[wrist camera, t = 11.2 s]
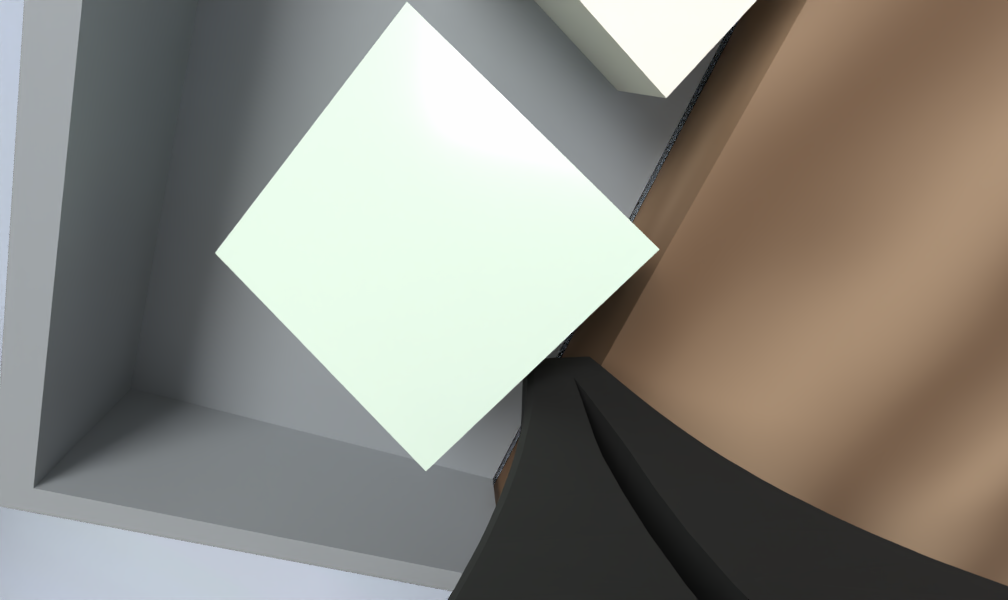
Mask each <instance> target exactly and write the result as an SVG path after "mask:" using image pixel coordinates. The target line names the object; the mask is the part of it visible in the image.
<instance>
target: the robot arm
mask: <svg viewBox="0 0 1008 600" xmlns="http://www.w3.org/2000/svg"><path fill="white" fill-rule="evenodd" d="M448 600H1008V586H1007V585H1004V584H1001V583H998V582H995V581H993V580H990V579H987V578H984V577H982V576H979V575H976V574H973V573H971V572H968V571H965V570H962V569H960V568H957V567H954V566H951V565H949V564H946V563H943V562H940V561H938V560H935V559H933V558H930V557H928V556H925V555H923V554H920V553H918V552H915V551H913V550H911V549H908V548H906V547H903V546H901V545H899V544H896V543H894V542H892V541H889V540H887V539H884V538H882V537H880V536H877V535H875V534H872V533H870V532H868V531H866V530H863V529H861V528H859V527H857V526H855V525H852V524H850V523H848V522H846V521H844V520H841V519H839V518H837V517H835V516H833V515H830V514H828V513H826V512H824V511H822V510H820V509H818V508H816V507H814V506H812V505H810V504H808V503H806V502H804V501H802V500H800V499H798V498H796V497H794V496H792V495H790V494H788V493H786V492H784V491H783V490H781V489H779V488H777V487H775V486H773V485H771V484H769V483H768V482H766V481H764V480H762V479H760V478H759V477H757V476H755V475H754V474H752V473H750V472H748V471H747V470H745V469H743V468H742V467H740V466H738V465H737V464H735V463H733V462H731V461H730V460H728V459H726V458H725V457H723V456H721V455H720V454H718V453H717V452H715V451H714V450H712V449H710V448H709V447H707V446H706V445H704V444H703V443H701V442H700V441H698V440H697V439H696V438H694V437H693V436H691V435H690V434H688V433H687V432H685V431H684V430H683V429H681V428H680V427H678V426H677V425H675V424H674V423H673V422H671V421H670V420H669V419H667V418H666V417H665V416H663V415H662V414H660V413H659V412H658V411H657V410H655V409H654V408H653V407H651V406H650V405H649V404H648V403H646V402H645V401H644V400H642V399H641V398H640V397H639V396H637V395H636V394H635V393H634V392H632V391H631V390H630V389H629V388H628V387H626V386H625V385H624V384H623V383H621V382H620V381H619V380H618V379H617V378H615V377H614V376H613V375H612V374H611V373H609V372H608V371H607V370H606V369H605V368H603V367H602V366H601V365H600V364H598V363H597V362H596V361H595V360H593V359H592V358H591V357H565V358H545V359H544V360H543V361H541V362H540V363H539V364H538V365H537V366H536V367H535V368H534V369H533V370H532V371H531V372H530V373H529V374H528V375H527V376H526V377H525V378H524V379H523V384H522V414H521V433H520V436H519V440H518V444H517V448H516V452H515V455H514V459H513V462H512V465H511V468H510V471H509V474H508V477H507V479H506V482H505V485H504V487H503V490H502V493H501V495H500V498H499V500H498V502H497V505H496V507H495V509H494V512H493V514H492V516H491V518H490V521H489V523H488V525H487V527H486V530H485V532H484V534H483V536H482V538H481V540H480V542H479V544H478V546H477V548H476V550H475V551H474V553H473V555H472V557H471V559H470V561H469V562H468V564H467V566H466V568H465V570H464V572H463V573H462V575H461V577H460V579H459V581H458V583H457V584H456V586H455V588H454V590H453V592H452V593H451V595H450V597H449V598H448Z"/></svg>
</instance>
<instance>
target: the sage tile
mask: <svg viewBox="0 0 1008 600" xmlns="http://www.w3.org/2000/svg"><path fill="white" fill-rule="evenodd" d="M658 250H659V248H658V247H657V246H656V245H655V244H654V243H653V242H652V241H650V240H649V239H648V238H647V237H646V236H645V235H644V234H643V233H642V232H641V231H640V230H639V229H638V228H637V227H636V226H635V225H634V224H633V223H632V222H631V221H630V220H629V219H628V218H627V217H626V216H625V215H624V214H623V213H622V212H621V211H620V210H619V209H618V208H617V207H616V206H615V205H614V204H613V203H612V202H611V201H610V200H609V199H608V198H607V197H606V196H605V195H604V194H603V193H602V192H601V191H599V190H598V189H597V188H596V187H595V186H594V185H593V184H592V183H591V182H590V181H589V180H588V179H587V178H586V177H585V176H584V175H583V174H582V173H581V172H580V171H579V170H578V169H577V168H576V167H575V166H574V165H573V164H572V163H571V162H570V161H569V160H568V159H567V158H566V157H565V156H564V155H563V154H562V153H561V152H560V151H559V150H558V149H557V148H556V147H555V146H554V145H553V144H552V143H551V142H550V141H548V140H547V139H546V138H545V137H544V136H543V135H542V134H541V133H540V132H539V131H538V130H537V129H536V128H535V127H534V126H533V125H532V124H531V123H530V122H529V121H528V120H527V119H526V118H525V117H524V116H523V115H522V114H521V113H520V112H519V111H518V110H517V109H516V108H515V107H514V106H513V105H512V104H511V103H510V102H509V101H508V100H507V99H506V98H505V97H504V96H503V95H502V94H501V93H500V92H499V91H498V90H496V89H495V88H494V87H493V86H492V85H491V84H490V83H489V82H488V81H487V80H486V79H485V78H484V77H483V76H482V75H481V74H480V73H479V72H478V71H477V70H476V69H475V68H474V67H473V66H472V65H471V64H470V63H469V62H468V61H467V60H466V59H465V58H464V57H463V56H462V55H461V54H460V53H459V52H458V51H457V50H456V49H455V48H454V47H453V46H452V45H451V44H450V43H449V42H448V41H447V40H445V39H444V38H443V37H442V36H441V35H440V34H439V33H438V32H437V31H436V30H435V29H434V28H433V27H432V26H431V25H430V24H429V23H428V22H427V21H426V20H425V19H424V18H423V17H422V16H421V15H420V14H419V13H418V12H417V11H416V10H415V9H414V8H413V7H412V6H411V5H410V4H409V3H408V2H406V4H405V5H404V6H403V7H402V9H401V10H400V11H399V13H398V14H397V15H396V17H395V18H394V19H393V21H392V22H391V23H390V24H389V26H388V27H387V28H386V30H385V31H384V32H383V34H382V35H381V36H380V38H379V39H378V40H377V41H376V43H375V44H374V45H373V47H372V48H371V49H370V51H369V52H368V53H367V55H366V56H365V57H364V59H363V60H362V61H361V62H360V64H359V65H358V66H357V68H356V69H355V70H354V72H353V73H352V74H351V76H350V77H349V78H348V79H347V81H346V82H345V83H344V85H343V86H342V87H341V89H340V90H339V91H338V93H337V94H336V95H335V96H334V98H333V99H332V100H331V102H330V103H329V104H328V106H327V107H326V108H325V110H324V111H323V112H322V113H321V115H320V116H319V117H318V119H317V120H316V121H315V123H314V124H313V125H312V127H311V128H310V129H309V131H308V132H307V133H306V134H305V136H304V137H303V138H302V140H301V141H300V142H299V144H298V145H297V146H296V148H295V149H294V150H293V151H292V153H291V154H290V155H289V157H288V158H287V159H286V161H285V162H284V163H283V165H282V166H281V167H280V168H279V170H278V171H277V172H276V174H275V175H274V176H273V178H272V179H271V180H270V182H269V183H268V184H267V185H266V187H265V188H264V189H263V191H262V192H261V193H260V195H259V196H258V197H257V199H256V200H255V201H254V203H253V204H252V205H251V206H250V208H249V209H248V210H247V212H246V213H245V214H244V216H243V217H242V218H241V220H240V221H239V222H238V223H237V225H236V226H235V227H234V229H233V230H232V231H231V233H230V234H229V235H228V237H227V238H226V239H225V240H224V242H223V243H222V244H221V246H220V247H219V248H218V250H217V251H216V252H215V253H216V254H217V256H218V257H219V258H220V259H221V260H222V261H223V262H224V263H225V264H226V265H227V266H228V267H229V268H230V269H231V270H232V271H233V272H234V273H235V274H236V275H237V276H238V277H239V278H240V279H241V280H242V281H243V282H244V283H245V285H246V286H247V287H248V288H249V289H250V290H251V291H252V292H253V293H254V294H255V295H256V296H257V297H258V298H259V299H260V300H261V301H262V302H263V303H264V304H265V305H266V306H267V307H268V308H269V309H270V310H271V311H272V312H273V314H274V315H275V316H276V317H277V318H278V319H279V320H280V321H281V322H282V323H283V324H284V325H285V326H286V327H287V328H288V329H289V330H290V331H291V332H292V333H293V334H294V335H295V336H296V337H297V338H298V339H299V340H300V341H301V343H302V344H303V345H304V346H305V347H306V348H307V349H308V350H309V351H310V352H311V353H312V354H313V355H314V356H315V357H316V358H317V359H318V360H319V361H320V362H321V363H322V364H323V365H324V366H325V367H326V368H327V369H328V370H329V372H330V373H331V374H332V375H333V376H334V377H335V378H336V379H337V380H338V381H339V382H340V383H341V384H342V385H343V386H344V387H345V388H346V389H347V390H348V391H349V392H350V393H351V394H352V395H353V396H354V397H355V398H356V399H357V401H358V402H359V403H360V404H361V405H362V406H363V407H364V408H365V409H366V410H367V411H368V412H369V413H370V414H371V415H372V416H373V417H374V418H375V419H376V420H377V421H378V422H379V423H380V424H381V425H382V426H383V427H384V428H385V429H386V431H387V432H388V433H389V434H390V435H391V436H392V437H393V438H394V439H395V440H396V441H397V442H398V443H399V444H400V445H401V446H402V447H403V448H404V449H405V450H406V451H407V452H408V453H409V454H410V455H411V456H412V457H413V458H414V460H415V461H416V462H417V463H418V464H419V465H420V466H421V467H422V468H423V469H424V470H425V471H427V470H428V469H429V468H430V467H431V466H432V465H433V464H434V463H435V462H436V461H437V460H438V459H439V458H440V457H441V456H443V455H444V454H445V453H446V452H447V451H448V450H449V449H450V448H451V447H452V446H453V445H454V444H455V443H456V442H457V441H458V440H459V439H460V438H461V437H463V436H464V435H465V434H466V433H467V432H468V431H469V430H470V429H471V428H472V427H473V426H474V425H475V424H476V423H477V422H478V421H479V420H480V419H481V418H483V417H484V416H485V415H486V414H487V413H488V412H489V411H490V410H491V409H492V408H493V407H494V406H495V405H496V404H497V403H498V402H499V401H500V400H501V399H503V398H504V397H505V396H506V395H507V394H508V393H509V392H510V391H511V390H512V389H513V388H514V387H515V386H516V385H517V384H518V383H519V382H520V381H521V380H523V379H524V378H525V377H526V376H527V375H528V374H529V373H530V372H531V371H532V370H533V369H534V368H535V367H536V366H537V365H538V364H539V363H540V362H541V361H543V360H544V359H545V358H546V357H547V356H548V355H549V354H550V353H551V352H552V351H553V350H554V349H555V348H556V347H557V346H558V345H559V344H560V343H561V342H563V341H564V340H565V339H566V338H567V337H568V336H569V335H570V334H571V333H572V332H573V331H574V330H575V329H576V328H577V327H578V326H579V325H580V324H581V323H583V322H584V321H585V320H586V319H587V318H588V317H589V316H590V315H591V314H592V313H593V312H594V311H595V310H596V309H597V308H598V307H599V306H600V305H601V304H603V303H604V302H605V301H606V300H607V299H608V298H609V297H610V296H611V295H612V294H613V293H614V292H615V291H616V290H617V289H618V288H619V287H620V286H621V285H623V284H624V283H625V282H626V281H627V280H628V279H629V278H630V277H631V276H632V275H633V274H634V273H635V272H636V271H637V270H638V269H639V268H640V267H641V266H643V265H644V264H645V263H646V262H647V261H648V260H649V259H650V258H651V257H652V256H653V255H654V254H655V253H656V252H657V251H658Z"/></svg>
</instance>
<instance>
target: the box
mask: <svg viewBox="0 0 1008 600" xmlns="http://www.w3.org/2000/svg"><path fill="white" fill-rule="evenodd" d="M406 2H408V3H409V4H410V5H411V6H412V7H413V8H414V9H415V10H416V11H417V12H418V13H419V14H420V15H421V16H422V17H423V18H424V19H425V20H426V21H427V22H428V23H429V24H430V25H431V26H432V27H433V28H434V29H435V30H436V31H437V32H438V33H439V34H440V35H441V36H442V37H443V38H444V39H445V40H447V41H448V42H449V43H450V44H451V45H452V46H453V47H454V48H455V49H456V50H457V51H458V52H459V53H460V54H461V55H462V56H463V57H464V58H465V59H466V60H467V61H468V62H469V63H470V64H471V65H472V66H473V67H474V68H475V69H476V70H477V71H478V72H479V73H480V74H481V75H482V76H483V77H484V78H485V79H486V80H487V81H488V82H489V83H490V84H491V85H492V86H493V87H494V88H495V89H496V90H498V91H499V92H500V93H501V94H502V95H503V96H504V97H505V98H506V99H507V100H508V101H509V102H510V103H511V104H512V105H513V106H514V107H515V108H516V109H517V110H518V111H519V112H520V113H521V114H522V115H523V116H524V117H525V118H526V119H527V120H528V121H529V122H530V123H531V124H532V125H533V126H534V127H535V128H536V129H537V130H538V131H539V132H540V133H541V134H542V135H543V136H544V137H545V138H546V139H547V140H548V141H550V142H551V143H552V144H553V145H554V146H555V147H556V148H557V149H558V150H559V151H560V152H561V153H562V154H563V155H564V156H565V157H566V158H567V159H568V160H569V161H570V162H571V163H572V164H573V165H574V166H575V167H576V168H577V169H578V170H579V171H580V172H581V173H582V174H583V175H584V176H585V177H586V178H587V179H588V180H589V181H590V182H591V183H592V184H593V185H594V186H595V187H596V188H597V189H598V190H599V191H601V192H602V193H603V194H604V195H605V196H606V197H607V198H608V199H609V200H610V201H611V202H612V203H613V204H614V205H615V206H616V207H617V208H618V209H619V210H620V211H621V212H622V213H623V214H624V215H625V216H626V217H627V218H628V219H629V217H630V216H631V214H632V212H633V210H634V208H635V206H636V204H637V202H638V200H639V198H640V196H641V195H642V193H643V191H644V189H645V187H646V185H647V183H648V181H649V179H650V177H651V175H652V173H653V172H654V170H655V168H656V166H657V164H658V162H659V160H660V158H661V156H662V154H663V152H664V151H665V149H666V147H667V145H668V143H669V141H670V139H671V137H672V135H673V133H674V131H675V129H676V128H677V126H678V124H679V122H680V120H681V118H682V116H683V114H684V112H685V110H686V108H687V107H688V105H689V103H690V101H691V99H692V97H693V95H694V93H695V91H696V89H697V87H698V85H699V84H700V82H701V80H702V78H703V76H704V74H705V72H706V70H707V68H708V66H709V64H710V63H711V61H712V59H713V57H714V55H715V53H716V51H717V49H718V47H719V45H720V43H721V42H722V40H723V38H724V36H725V35H724V36H723V37H722V38H721V39H720V41H719V42H718V43H717V44H716V45H715V46H714V47H713V48H712V49H711V50H710V51H709V52H708V54H707V55H706V56H705V57H704V58H703V59H702V60H701V61H700V62H699V63H698V64H697V65H696V67H695V68H694V69H693V70H692V71H691V72H690V73H689V74H688V75H687V76H686V77H685V78H684V79H683V81H682V82H681V83H680V84H679V85H678V86H677V87H676V88H675V89H674V90H673V91H672V92H671V94H670V95H669V96H668V97H667V98H662V97H656V96H649V95H643V94H636V93H629V92H623V91H618V90H617V89H616V88H615V87H614V86H613V85H612V84H611V83H610V82H609V81H608V80H607V79H606V77H605V76H604V75H603V74H602V73H601V72H600V71H599V70H598V69H597V68H596V67H595V66H594V65H593V63H592V62H591V61H590V60H589V59H588V58H587V57H586V56H585V55H584V54H583V53H582V52H581V50H580V49H579V48H578V47H577V46H576V45H575V44H574V43H573V42H572V41H571V40H570V39H569V38H568V36H567V35H566V34H565V33H564V32H563V31H562V30H561V29H560V28H559V27H558V26H557V25H556V23H555V22H554V21H553V20H552V19H551V18H550V17H549V16H548V15H547V14H546V13H545V12H544V11H543V9H542V8H541V7H540V6H539V5H538V4H537V3H536V2H535V1H534V0H24V12H23V28H22V44H21V60H20V76H19V91H18V107H17V123H16V139H15V155H14V171H13V186H12V202H11V218H10V234H9V250H8V266H7V282H6V297H5V313H4V329H3V345H2V361H1V377H0V507H6V508H11V509H16V510H22V511H27V512H32V513H38V514H43V515H48V516H54V517H59V518H64V519H70V520H75V521H80V522H86V523H91V524H96V525H102V526H107V527H112V528H118V529H123V530H128V531H133V532H139V533H144V534H149V535H155V536H160V537H165V538H171V539H176V540H181V541H187V542H192V543H197V544H203V545H208V546H213V547H219V548H224V549H229V550H235V551H240V552H245V553H251V554H256V555H261V556H267V557H272V558H277V559H283V560H288V561H293V562H299V563H304V564H309V565H315V566H320V567H325V568H331V569H336V570H341V571H346V572H352V573H357V574H362V575H368V576H373V577H378V578H384V579H389V580H394V581H400V582H405V583H410V584H416V585H421V586H426V587H432V588H437V589H442V590H448V591H453V590H454V588H455V586H456V584H457V583H458V581H459V579H460V577H461V575H462V573H463V572H464V570H465V568H466V566H467V564H468V562H469V561H470V559H471V557H472V555H473V553H474V551H475V550H476V548H477V546H478V544H479V542H480V540H481V538H482V536H483V534H484V532H485V530H486V527H487V525H488V523H489V521H490V518H491V516H492V514H493V512H494V509H495V507H496V504H495V495H494V486H493V478H494V476H495V474H496V472H497V470H498V468H499V466H500V464H501V462H502V460H503V458H504V457H505V455H506V453H507V451H508V449H509V447H510V445H511V443H512V441H513V439H514V437H515V436H516V434H517V432H518V430H519V428H520V426H521V414H522V384H523V380H521V381H520V382H519V383H518V384H517V385H516V386H515V387H514V388H513V389H512V390H511V391H510V392H509V393H508V394H507V395H506V396H505V397H504V398H503V399H501V400H500V401H499V402H498V403H497V404H496V405H495V406H494V407H493V408H492V409H491V410H490V411H489V412H488V413H487V414H486V415H485V416H484V417H483V418H481V419H480V420H479V421H478V422H477V423H476V424H475V425H474V426H473V427H472V428H471V429H470V430H469V431H468V432H467V433H466V434H465V435H464V436H463V437H461V438H460V439H459V440H458V441H457V442H456V443H455V444H454V445H453V446H452V447H451V448H450V449H449V450H448V451H447V452H446V453H445V454H444V455H443V456H441V457H440V458H439V459H438V460H437V461H436V462H435V463H434V464H433V465H432V466H431V467H430V468H429V469H428V470H427V471H425V470H424V469H423V468H422V467H421V466H420V465H419V464H418V463H417V462H416V461H415V460H414V458H413V457H412V456H411V455H410V454H409V453H408V452H407V451H406V450H405V449H404V448H403V447H402V446H401V445H400V444H399V443H398V442H397V441H396V440H395V439H394V438H393V437H392V436H391V435H390V434H389V433H388V432H387V431H386V429H385V428H384V427H383V426H382V425H381V424H380V423H379V422H378V421H377V420H376V419H375V418H374V417H373V416H372V415H371V414H370V413H369V412H368V411H367V410H366V409H365V408H364V407H363V406H362V405H361V404H360V403H359V402H358V401H357V399H356V398H355V397H354V396H353V395H352V394H351V393H350V392H349V391H348V390H347V389H346V388H345V387H344V386H343V385H342V384H341V383H340V382H339V381H338V380H337V379H336V378H335V377H334V376H333V375H332V374H331V373H330V372H329V370H328V369H327V368H326V367H325V366H324V365H323V364H322V363H321V362H320V361H319V360H318V359H317V358H316V357H315V356H314V355H313V354H312V353H311V352H310V351H309V350H308V349H307V348H306V347H305V346H304V345H303V344H302V343H301V341H300V340H299V339H298V338H297V337H296V336H295V335H294V334H293V333H292V332H291V331H290V330H289V329H288V328H287V327H286V326H285V325H284V324H283V323H282V322H281V321H280V320H279V319H278V318H277V317H276V316H275V315H274V314H273V312H272V311H271V310H270V309H269V308H268V307H267V306H266V305H265V304H264V303H263V302H262V301H261V300H260V299H259V298H258V297H257V296H256V295H255V294H254V293H253V292H252V291H251V290H250V289H249V288H248V287H247V286H246V285H245V283H244V282H243V281H242V280H241V279H240V278H239V277H238V276H237V275H236V274H235V273H234V272H233V271H232V270H231V269H230V268H229V267H228V266H227V265H226V264H225V263H224V262H223V261H222V260H221V259H220V258H219V257H218V256H217V254H216V253H215V252H216V251H217V250H218V248H219V247H220V246H221V244H222V243H223V242H224V240H225V239H226V238H227V237H228V235H229V234H230V233H231V231H232V230H233V229H234V227H235V226H236V225H237V223H238V222H239V221H240V220H241V218H242V217H243V216H244V214H245V213H246V212H247V210H248V209H249V208H250V206H251V205H252V204H253V203H254V201H255V200H256V199H257V197H258V196H259V195H260V193H261V192H262V191H263V189H264V188H265V187H266V185H267V184H268V183H269V182H270V180H271V179H272V178H273V176H274V175H275V174H276V172H277V171H278V170H279V168H280V167H281V166H282V165H283V163H284V162H285V161H286V159H287V158H288V157H289V155H290V154H291V153H292V151H293V150H294V149H295V148H296V146H297V145H298V144H299V142H300V141H301V140H302V138H303V137H304V136H305V134H306V133H307V132H308V131H309V129H310V128H311V127H312V125H313V124H314V123H315V121H316V120H317V119H318V117H319V116H320V115H321V113H322V112H323V111H324V110H325V108H326V107H327V106H328V104H329V103H330V102H331V100H332V99H333V98H334V96H335V95H336V94H337V93H338V91H339V90H340V89H341V87H342V86H343V85H344V83H345V82H346V81H347V79H348V78H349V77H350V76H351V74H352V73H353V72H354V70H355V69H356V68H357V66H358V65H359V64H360V62H361V61H362V60H363V59H364V57H365V56H366V55H367V53H368V52H369V51H370V49H371V48H372V47H373V45H374V44H375V43H376V41H377V40H378V39H379V38H380V36H381V35H382V34H383V32H384V31H385V30H386V28H387V27H388V26H389V24H390V23H391V22H392V21H393V19H394V18H395V17H396V15H397V14H398V13H399V11H400V10H401V9H402V7H403V6H404V5H405V4H406ZM565 340H566V339H565ZM565 340H564V341H563V342H561V343H560V344H559V345H558V346H557V347H556V348H555V349H554V350H553V351H552V352H551V353H550V354H549V355H548V356H547V357H546V358H556V357H557V355H558V353H559V351H560V349H561V348H562V346H563V344H564V342H565Z"/></svg>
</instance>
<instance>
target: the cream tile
mask: <svg viewBox="0 0 1008 600" xmlns="http://www.w3.org/2000/svg"><path fill="white" fill-rule="evenodd" d="M534 1H535V2H536V3H537V4H538V5H539V6H540V7H541V8H542V9H543V11H544V12H545V13H546V14H547V15H548V16H549V17H550V18H551V19H552V20H553V21H554V22H555V23H556V25H557V26H558V27H559V28H560V29H561V30H562V31H563V32H564V33H565V34H566V35H567V36H568V38H569V39H570V40H571V41H572V42H573V43H574V44H575V45H576V46H577V47H578V48H579V49H580V50H581V52H582V53H583V54H584V55H585V56H586V57H587V58H588V59H589V60H590V61H591V62H592V63H593V65H594V66H595V67H596V68H597V69H598V70H599V71H600V72H601V73H602V74H603V75H604V76H605V77H606V79H607V80H608V81H609V82H610V83H611V84H612V85H613V86H614V87H615V88H616V89H617V90H618V91H623V92H629V93H636V94H643V95H649V96H656V97H662V98H667V97H668V96H669V95H670V94H671V92H672V91H673V90H674V89H675V88H676V87H677V86H678V85H679V84H680V83H681V82H682V81H683V79H684V78H685V77H686V76H687V75H688V74H689V73H690V72H691V71H692V70H693V69H694V68H695V67H696V65H697V64H698V63H699V62H700V61H701V60H702V59H703V58H704V57H705V56H706V55H707V54H708V52H709V51H710V50H711V49H712V48H713V47H714V46H715V45H716V44H717V43H718V42H719V41H720V39H721V38H722V37H723V36H724V35H725V34H726V33H727V32H728V31H729V30H730V29H731V28H732V27H733V25H734V24H735V23H736V22H737V21H738V20H739V19H740V18H741V17H742V16H743V15H744V14H745V12H746V11H747V10H748V9H749V8H750V7H751V6H752V5H753V4H754V3H755V2H756V1H757V0H534Z"/></svg>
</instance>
